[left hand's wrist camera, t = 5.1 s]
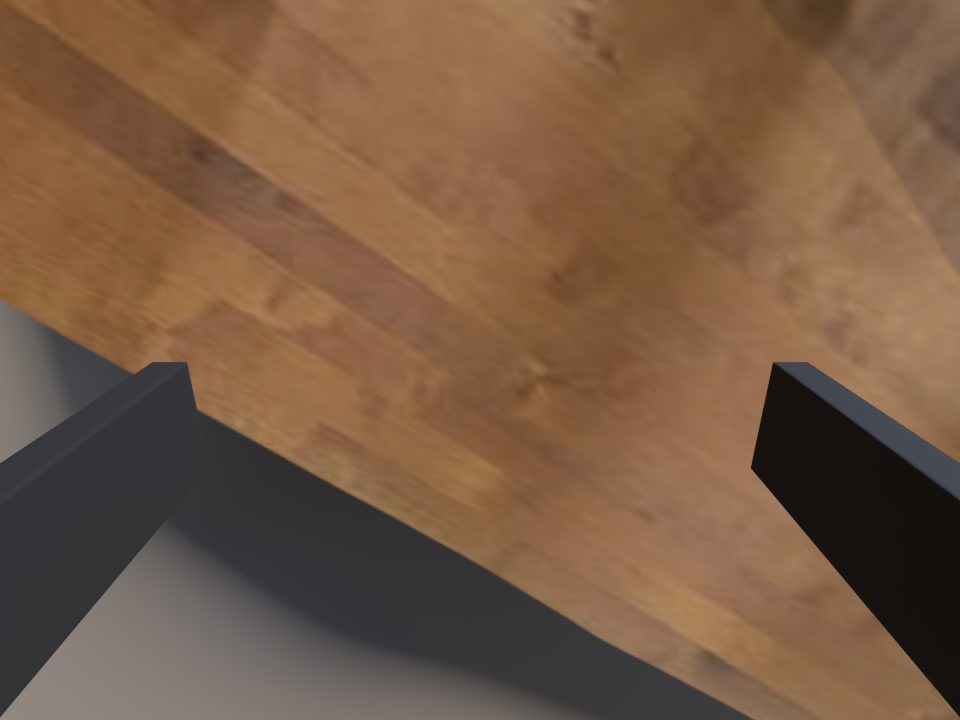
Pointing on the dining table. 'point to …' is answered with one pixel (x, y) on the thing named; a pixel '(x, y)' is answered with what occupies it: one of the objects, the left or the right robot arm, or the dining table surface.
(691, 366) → the dining table surface
